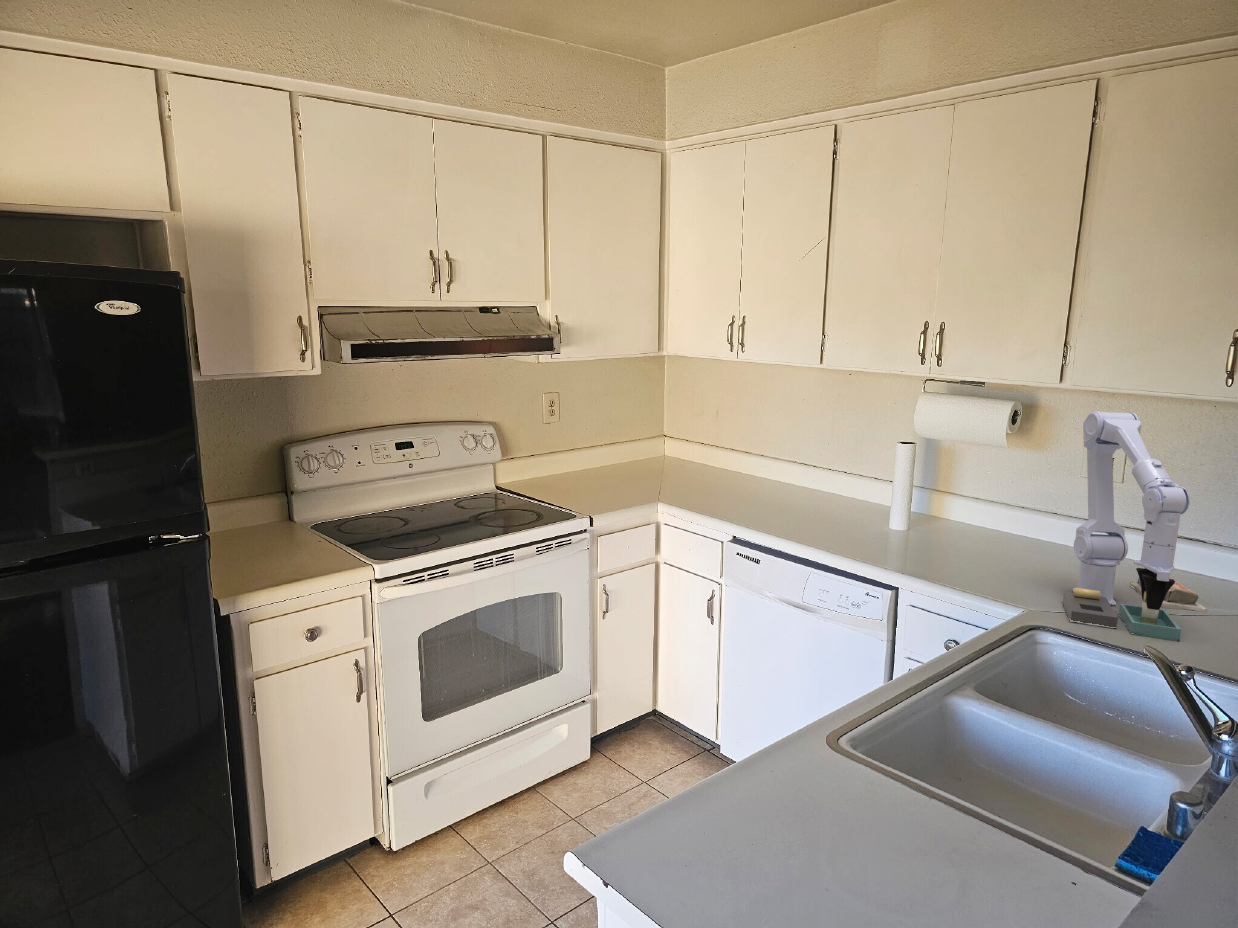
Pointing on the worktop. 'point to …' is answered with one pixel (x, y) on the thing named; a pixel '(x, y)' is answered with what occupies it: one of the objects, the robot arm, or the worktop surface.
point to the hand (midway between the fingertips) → (1150, 605)
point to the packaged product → (1177, 597)
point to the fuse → (1148, 614)
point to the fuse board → (1089, 607)
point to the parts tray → (1162, 630)
